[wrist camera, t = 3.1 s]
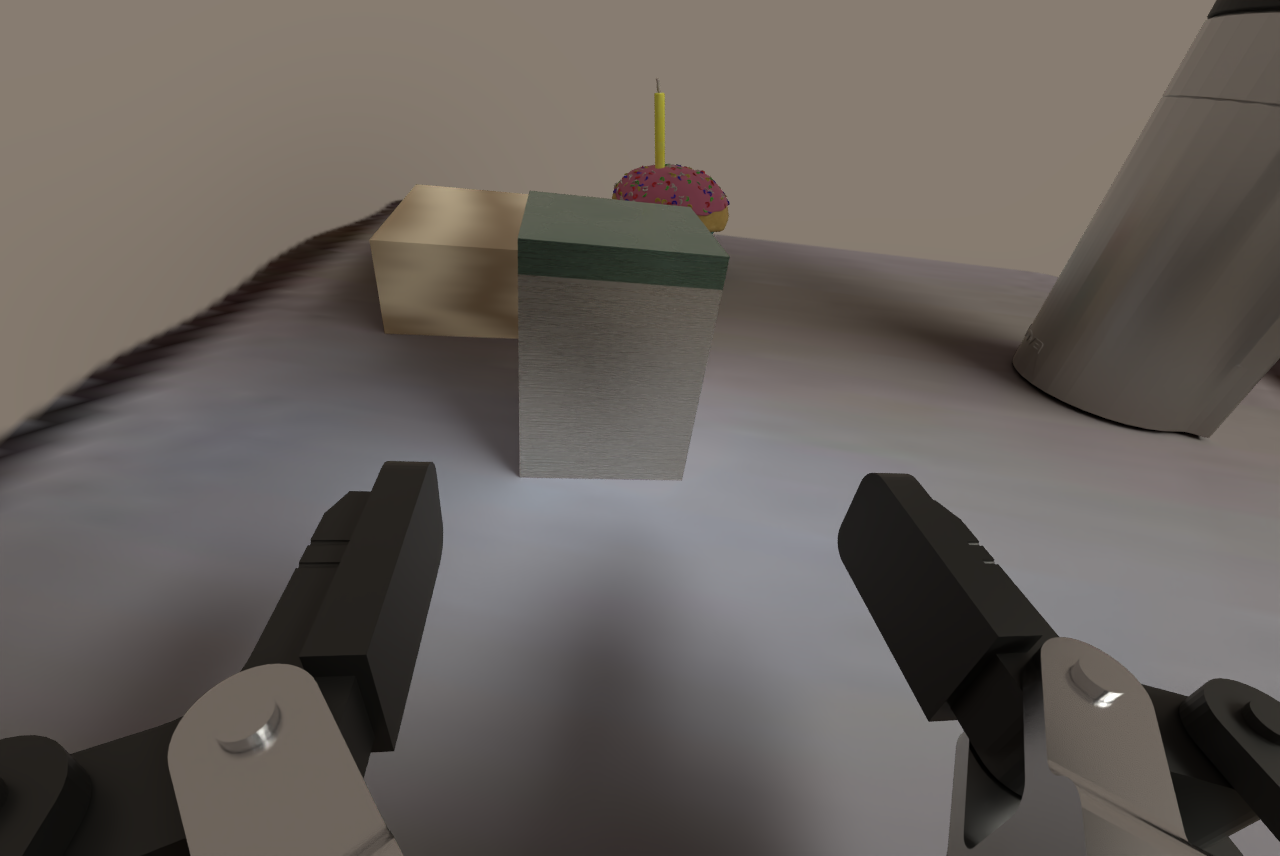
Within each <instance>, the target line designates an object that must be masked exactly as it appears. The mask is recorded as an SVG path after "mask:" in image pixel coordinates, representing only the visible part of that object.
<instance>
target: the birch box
mask: <svg viewBox="0 0 1280 856" xmlns="http://www.w3.org/2000/svg"><path fill="white" fill-rule="evenodd" d="M528 195H529V194H518V193H507V192H496V191H485V190H474V189H462V188H451V187H440V186H429V185H417V184H416V185H415V186H414V188H413V189H412V190H411V191H410V192H409V194H408V195H407V196H406V197H405V198H404V200H403V201H402V202H401V203H400V204H399V205H398V207H397V208H396V209H395V210H394V211H393V213H392V214H391V215H390V216H389V217H388V219H387V220H386V221H385V222H384V223H383V225H382V226H381V227H380V228H379V229H378V230H377V232H376V233H375V234H374V235H373V236H372V238H371V239H370V246H371V252H372V258H373V264H374V270H375V276H376V283H377V289H378V295H379V301H380V307H381V313H382V319H383V326H384V332H385V334H408V335H433V336H459V337H484V338H510V339H518V234H519V230H520V226H521V222H522V219H523V215H524V211H525V207H526V203H527V199H528Z"/></svg>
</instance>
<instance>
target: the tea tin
mask: <svg viewBox="0 0 1280 856" xmlns="http://www.w3.org/2000/svg"><path fill="white" fill-rule="evenodd" d="M728 262H729V255H728V254H727V253H726V252H725V250H724V249H723V248H722V247H721V245H720V244H719V243H718V241H717V240H716V239H715V238H714V236H713V235H712V234H711V233H710V231H709V230H708V229H707V227H706V226H705V225H704V224H703V222H702V221H701V220H700V219H699V217H698V216H697V215H696V213H695V212H694V211H693V210H692V208H691V207H684V206H674V205H664V204H655V203H645V202H635V201H625V200H615V199H605V198H596V197H586V196H576V195H566V194H557V193H546V192H537V191H530V192H529V195H528V199H527V203H526V207H525V211H524V215H523V219H522V222H521V226H520V230H519V234H518V347H519V457H520V478H569V479H623V480H676V481H682V478H683V474H684V469H685V464H686V459H687V455H688V450H689V445H690V441H691V436H692V431H693V427H694V422H695V417H696V412H697V408H698V403H699V398H700V394H701V389H702V384H703V379H704V375H705V370H706V365H707V361H708V356H709V351H710V347H711V342H712V337H713V332H714V328H715V323H716V318H717V314H718V309H719V304H720V300H721V295H722V290H723V285H724V281H725V276H726V271H727V267H728Z"/></svg>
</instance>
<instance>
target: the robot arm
mask: <svg viewBox="0 0 1280 856" xmlns="http://www.w3.org/2000/svg"><path fill="white" fill-rule="evenodd" d="M1207 17H1208V20H1206V21H1205V22H1204V24H1203V26H1202V27H1201V29H1200V31H1199V33H1198V34H1197V36H1196V38H1195V40H1194V41H1193V43H1192V45H1191V47H1190V48H1189V51H1188V52H1187V54H1186V56H1185V57H1184V59H1183V61H1182V62H1181V64H1180V66H1179V68H1178V70H1177V71H1176V73H1175V75H1174V76H1173V78H1172V80H1171V82H1170V83H1169V85H1168V87H1167V89H1166V91H1165V92H1164V94H1163V97H1162V98H1161V99H1160V101H1159V103H1158V105H1157V106H1156V108H1155V110H1154V112H1153V113H1152V115H1151V117H1150V119H1149V120H1148V122H1147V124H1146V126H1145V128H1144V129H1143V131H1142V133H1141V134H1140V136H1139V138H1138V140H1137V141H1136V143H1135V145H1134V147H1133V148H1132V150H1131V152H1130V154H1129V155H1128V157H1127V159H1126V161H1125V162H1124V164H1123V166H1122V168H1121V170H1120V171H1119V173H1118V175H1117V176H1116V178H1115V180H1114V182H1113V184H1112V185H1111V187H1110V189H1109V190H1108V192H1107V194H1106V196H1105V197H1104V199H1103V201H1102V203H1101V204H1100V206H1099V208H1098V210H1097V212H1096V213H1095V215H1094V217H1093V218H1092V220H1091V222H1090V224H1089V225H1088V227H1087V229H1086V231H1085V232H1084V234H1083V236H1082V238H1081V239H1080V241H1079V243H1078V245H1077V246H1076V248H1075V250H1074V252H1073V253H1072V255H1071V257H1070V259H1069V260H1068V262H1067V264H1066V265H1065V267H1064V269H1063V271H1062V273H1061V274H1060V276H1059V278H1058V279H1057V281H1056V283H1055V285H1054V286H1053V288H1052V290H1051V292H1050V293H1049V295H1048V297H1047V299H1046V301H1045V302H1044V304H1043V306H1042V308H1041V309H1040V311H1039V313H1038V315H1037V316H1036V318H1035V320H1034V322H1033V323H1032V324H1031V325H1030V327H1029V329H1028V331H1027V332H1026V334H1025V337H1024V339H1023V341H1022V343H1021V344H1020V346H1019V348H1018V350H1017V352H1016V353H1015V355H1014V357H1013V361H1012V362H1013V365H1014V367H1015V369H1016V370H1017V371H1018V372H1019V373H1020V374H1021V375H1022V376H1023V377H1024V378H1025V379H1027V380H1028V381H1029V382H1030V383H1032V384H1033V385H1035V386H1036V387H1038V388H1040V389H1041V390H1043V391H1044V392H1046V393H1048V394H1050V395H1052V396H1054V397H1056V398H1058V399H1059V400H1061V401H1063V402H1066V403H1068V404H1070V405H1073V406H1075V407H1077V408H1079V409H1082V410H1084V411H1087V412H1090V413H1092V414H1095V415H1098V416H1101V417H1103V418H1107V419H1110V420H1113V421H1117V422H1120V423H1123V424H1127V425H1132V426H1136V427H1141V428H1145V429H1152V430H1159V431H1181V432H1188V433H1192V434H1196V435H1199V436H1202V437H1206V438H1209V437H1210V436H1211V435H1212V434H1213V433H1214V432H1215V431H1216V430H1217V428H1218V427H1219V426H1220V425H1221V424H1222V423H1223V422H1224V420H1225V419H1226V418H1227V417H1228V416H1229V415H1230V414H1231V413H1232V411H1233V410H1234V409H1235V408H1236V407H1237V406H1238V405H1239V403H1240V402H1241V401H1242V400H1243V399H1244V398H1245V397H1246V396H1247V394H1248V393H1249V392H1250V391H1251V390H1252V389H1253V388H1254V386H1255V385H1256V384H1257V383H1258V382H1259V381H1260V380H1261V378H1262V377H1263V376H1264V375H1265V374H1266V373H1267V372H1268V371H1269V369H1270V368H1271V367H1272V366H1273V365H1274V364H1275V363H1276V361H1277V360H1278V359H1279V358H1280V0H1217V1H1216V2H1215V4H1214V6H1213V8H1212V9H1211V11H1210V13H1209V14H1208V16H1207ZM442 546H443V523H442V515H441V507H440V499H439V490H438V482H437V474H436V468H435V465H434V463H433V462H405V461H386V462H385V463H384V464H383V466H382V468H381V470H380V473H379V475H378V477H377V479H376V482H375V484H374V486H373V489H372V491H371V492H368V491H349V492H348V493H347V494H346V495H345V496H344V497H343V498H341V499H340V500H339V501H338V502H337V503H336V504H335V505H333V506H332V507H331V508H330V509H329V510H328V511H327V512H325V513H324V515H323V517H322V519H321V521H320V523H319V525H318V527H317V529H316V531H315V533H314V534H313V536H312V538H311V544H310V545H308V546H307V548H306V550H305V552H304V554H303V556H302V558H301V560H300V561H299V568H296V569H295V571H294V573H293V575H292V577H291V579H290V581H289V583H288V585H287V587H286V589H285V590H284V592H283V594H282V596H281V598H280V600H279V602H278V604H277V606H276V608H275V610H274V612H273V614H272V616H271V617H270V619H269V621H268V623H267V625H266V627H265V629H264V631H263V633H262V635H261V637H260V639H259V641H258V643H257V645H256V646H255V648H254V650H253V652H252V654H251V656H250V658H249V659H248V661H247V663H246V664H245V666H244V667H243V669H242V670H241V671H240V673H237V674H235V675H233V676H231V677H229V678H227V679H226V680H224V681H222V682H220V683H219V684H217V685H216V686H215V687H213V688H212V689H210V690H209V691H208V692H206V693H205V694H204V695H203V696H202V697H201V698H200V699H198V700H197V701H196V702H195V703H194V705H193V706H192V707H191V708H190V709H189V710H188V711H187V712H186V714H185V715H184V716H182V717H180V718H178V719H176V720H174V721H172V722H169V723H166V724H164V725H161V726H158V727H155V728H152V729H149V730H146V731H143V732H139V733H136V734H133V735H130V736H127V737H124V738H120V739H117V740H114V741H111V742H108V743H105V744H101V745H98V746H95V747H92V748H89V749H86V750H82V751H79V752H76V753H73V754H69V753H68V752H67V751H66V750H65V749H64V748H63V747H62V746H61V745H60V744H58V743H57V742H56V741H54V740H52V739H49V738H47V737H42V736H35V735H30V736H16V737H10V738H5V739H1V740H0V856H403V854H402V852H401V850H400V848H399V846H398V844H397V842H396V840H395V838H394V837H393V835H392V833H391V832H390V831H389V830H388V828H387V826H386V824H385V822H384V820H383V819H382V817H381V815H380V813H379V810H378V808H377V806H376V804H375V802H374V800H373V798H372V796H371V794H370V792H369V790H368V788H367V786H366V784H365V782H364V779H363V778H364V774H365V771H366V767H367V764H368V760H369V756H370V753H371V752H387V751H394V750H395V745H396V741H397V737H398V733H399V729H400V725H401V721H402V717H403V713H404V709H405V704H406V700H407V696H408V692H409V688H410V684H411V680H412V676H413V672H414V667H415V663H416V659H417V655H418V651H419V647H420V643H421V639H422V635H423V631H424V626H425V622H426V618H427V614H428V610H429V606H430V602H431V598H432V594H433V589H434V585H435V581H436V577H437V573H438V569H439V565H440V560H441V555H442ZM838 550H839V554H840V557H841V560H842V562H843V564H844V566H845V567H846V569H847V571H848V573H849V575H850V577H851V578H852V580H853V582H854V584H855V586H856V588H857V590H858V591H859V593H860V595H861V597H862V599H863V601H864V603H865V604H866V606H867V608H868V610H869V612H870V614H871V616H872V617H873V619H874V621H875V623H876V625H877V627H878V629H879V630H880V632H881V634H882V636H883V638H884V640H885V642H886V643H887V645H888V647H889V649H890V651H891V653H892V654H893V656H894V658H895V660H896V662H897V664H898V666H899V667H900V669H901V671H902V673H903V675H904V677H905V679H906V680H907V682H908V684H909V686H910V688H911V690H912V692H913V693H914V695H915V697H916V699H917V701H918V703H919V705H920V706H921V708H922V710H923V712H924V714H925V716H926V718H927V719H928V721H929V722H932V721H948V720H958V721H959V723H960V725H961V726H962V728H963V730H964V732H963V733H962V734H961V735H960V736H959V738H958V740H957V744H956V752H955V765H954V777H953V790H952V802H951V814H950V827H949V839H948V849H947V855H946V856H1243V855H1242V853H1241V852H1240V851H1239V849H1238V848H1237V847H1236V846H1235V844H1234V843H1233V842H1232V841H1231V839H1230V838H1229V837H1228V836H1230V835H1232V834H1234V833H1236V832H1237V831H1239V830H1241V829H1243V828H1245V827H1247V826H1249V825H1251V824H1252V823H1254V822H1256V821H1258V820H1260V819H1261V820H1262V822H1263V823H1264V824H1265V825H1266V826H1267V827H1268V829H1269V830H1270V831H1271V832H1272V833H1273V834H1274V836H1275V837H1276V838H1277V839H1278V840H1279V841H1280V702H1279V701H1277V700H1275V699H1274V698H1272V697H1270V696H1269V695H1267V694H1265V693H1263V692H1261V691H1259V690H1258V689H1255V688H1253V687H1251V686H1249V685H1246V684H1243V683H1240V682H1238V681H1234V680H1230V679H1222V678H1218V679H1212V680H1210V681H1208V682H1207V683H1205V684H1204V685H1203V686H1202V687H1200V688H1199V689H1198V690H1196V691H1195V692H1194V693H1193V694H1191V695H1190V696H1189V697H1188V696H1184V695H1181V694H1177V693H1173V692H1169V691H1165V690H1162V689H1158V688H1154V687H1150V686H1147V685H1143V684H1141V683H1140V682H1139V681H1138V680H1137V679H1136V678H1135V676H1134V675H1133V674H1131V673H1130V672H1129V671H1128V670H1127V669H1126V668H1125V667H1124V666H1123V665H1121V664H1120V663H1119V662H1118V661H1116V660H1115V659H1114V658H1112V657H1111V656H1109V655H1108V654H1106V653H1105V652H1103V651H1101V650H1100V649H1098V648H1096V647H1094V646H1092V645H1090V644H1087V643H1085V642H1082V641H1079V640H1076V639H1072V638H1066V637H1059V636H1058V635H1057V634H1056V633H1055V631H1054V630H1053V629H1052V628H1051V627H1050V625H1049V624H1048V623H1047V622H1046V621H1045V619H1044V618H1043V617H1042V616H1041V615H1040V614H1039V612H1038V611H1037V610H1036V609H1035V608H1034V606H1033V605H1032V604H1031V603H1030V602H1029V600H1028V599H1027V598H1026V597H1025V596H1024V594H1023V593H1022V592H1021V591H1020V590H1019V588H1018V587H1017V586H1016V585H1015V584H1014V583H1013V581H1012V580H1011V579H1010V578H1009V577H1008V575H1007V574H1006V573H1005V572H1004V571H1003V569H1002V568H1001V567H1000V566H999V565H998V564H994V559H993V557H992V556H991V555H990V554H989V553H988V552H987V550H986V549H985V548H984V547H983V546H979V541H978V540H977V538H976V537H975V536H974V535H973V534H972V532H971V531H970V530H969V529H968V528H967V526H966V525H965V524H964V523H963V522H962V520H961V519H959V518H958V517H957V516H955V515H954V514H953V513H951V512H950V511H949V510H947V509H946V508H945V507H943V506H942V505H941V504H939V503H938V502H937V501H935V500H933V499H932V498H931V497H930V496H929V494H928V493H927V492H926V491H925V489H924V488H923V487H922V486H921V485H920V483H919V482H918V481H917V480H916V479H915V478H914V477H913V476H912V475H909V474H897V473H869V474H867V475H866V476H865V477H864V478H863V479H862V481H861V483H860V485H859V487H858V490H857V492H856V494H855V496H854V498H853V500H852V503H851V505H850V507H849V509H848V511H847V514H846V516H845V518H844V520H843V522H842V524H841V527H840V529H839V533H838Z"/></svg>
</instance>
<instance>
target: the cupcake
mask: <svg viewBox="0 0 1280 856" xmlns="http://www.w3.org/2000/svg"><path fill="white" fill-rule="evenodd" d="M656 81H657V91H658V93H655V165H652V166H645V167H643V166H642V167H639V168H637V169H634V170H632V171H631V172H629V173H626V174H625V175H626V176H624V177H623V178H622V180H620V181H619V182H618V183H615V185H614V191H613V196H612V199H615V200H625V201H635V202H645V203H655V204H664V205H674V206H684V207H691V208H692V210H693V211H694V212H695V213H696V215H697V216H698V217H699V219H700V220H701V221H702V222H703V224H704V225H705V226H706V227H707V229H708V230H709V231H710V233H711V234H713V233H714V232H720V231H722V230H724V228H725V226H726V223H727V221H728V216H729V215H728V207H727V206H728V205H729V201H728V199H727V198H726V197H727V196H726V195H725V193H724V192H723V191H722V190H721V188H720V187H719V186H718V185H717V184H716V182H715V181H714V180H713V179H712V178H711V177H709V176H708V175H706V174H705V172H704V171H699V170H692V168H688V167H681V165H678V164H676V165H671V164H666V165H665V106H664V105H665V98H664V97H665V94H664V93H661V91H660V81H659V78H656Z"/></svg>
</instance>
